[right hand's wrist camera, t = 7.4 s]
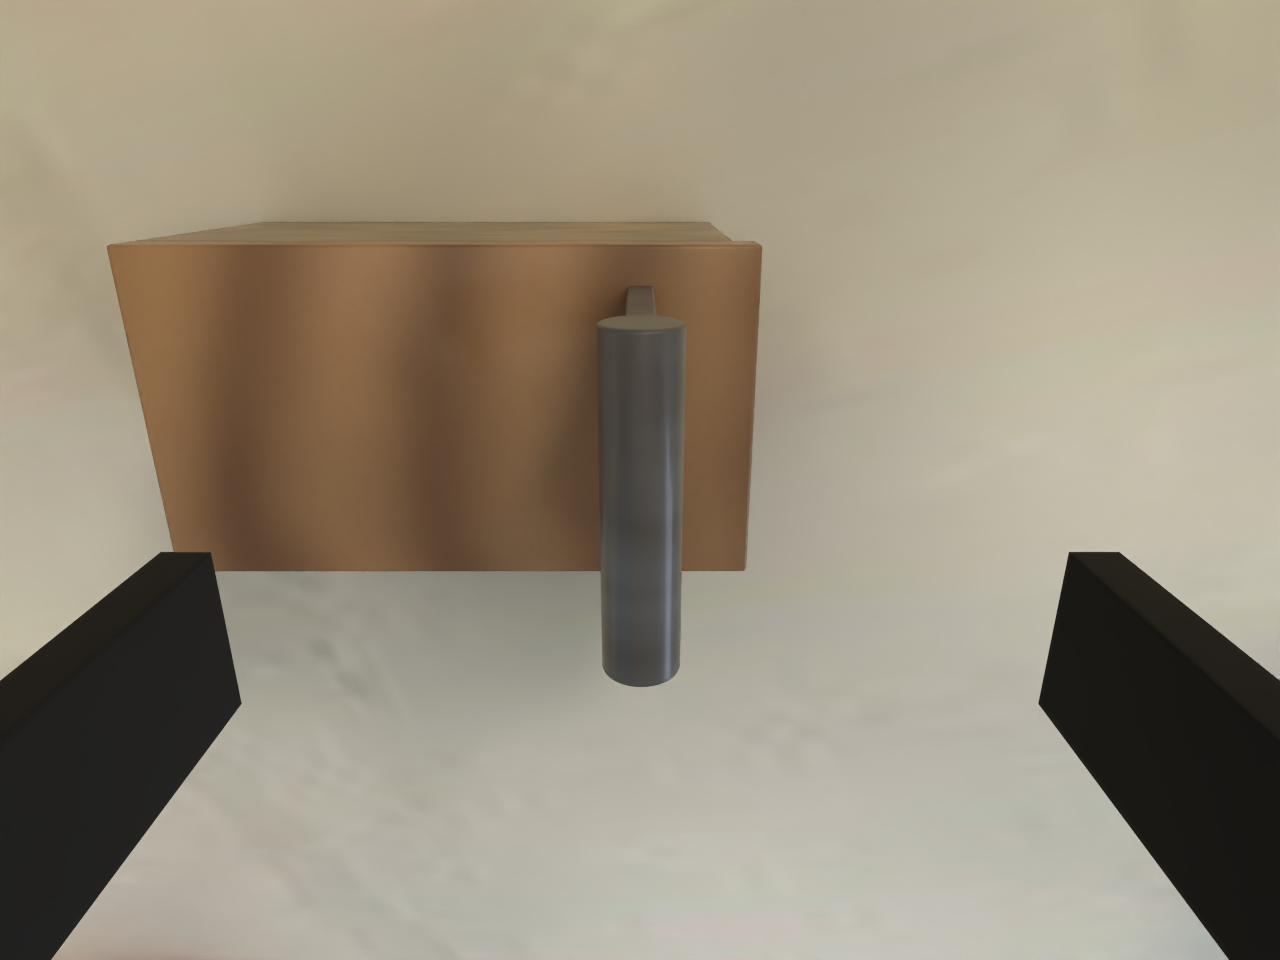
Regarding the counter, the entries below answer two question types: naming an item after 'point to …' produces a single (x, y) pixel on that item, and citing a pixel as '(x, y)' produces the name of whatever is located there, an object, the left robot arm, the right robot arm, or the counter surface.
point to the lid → (456, 410)
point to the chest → (459, 231)
